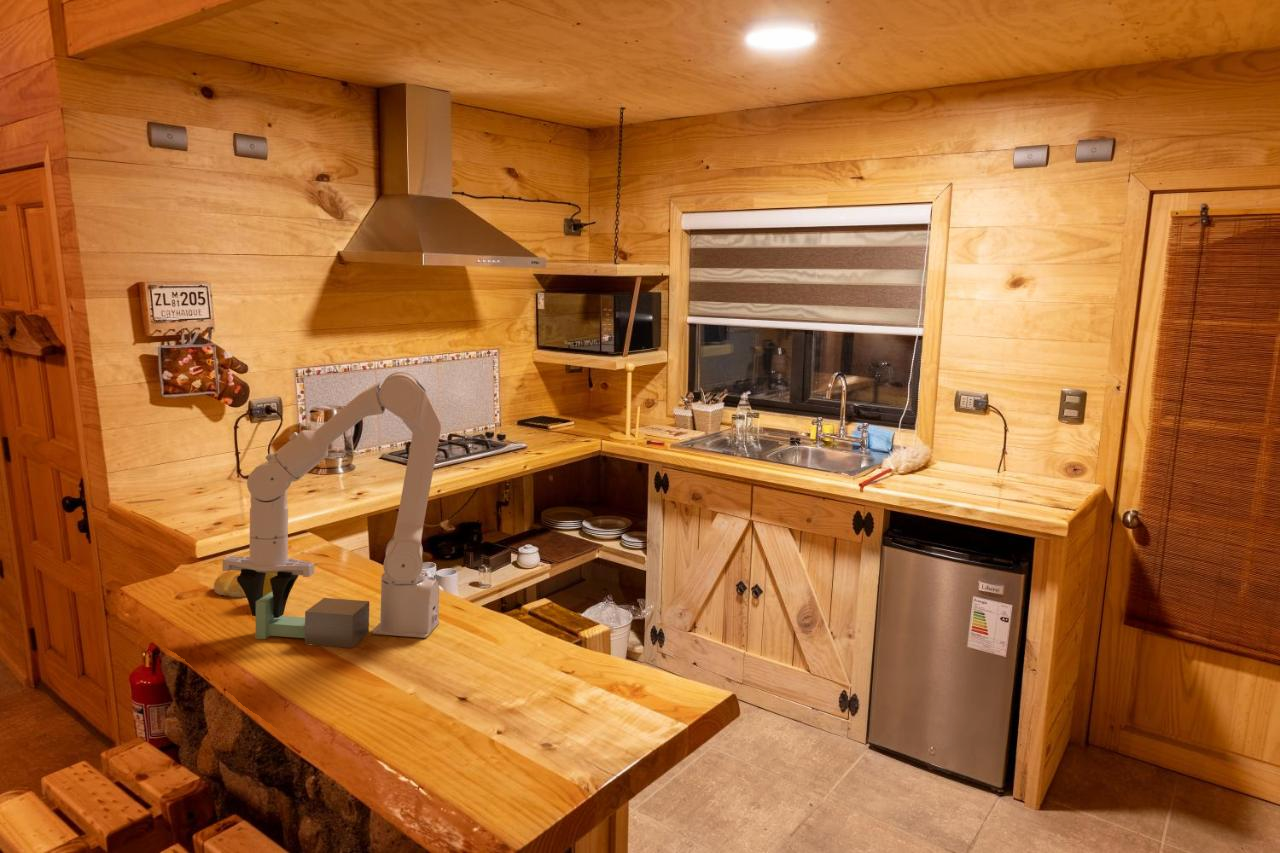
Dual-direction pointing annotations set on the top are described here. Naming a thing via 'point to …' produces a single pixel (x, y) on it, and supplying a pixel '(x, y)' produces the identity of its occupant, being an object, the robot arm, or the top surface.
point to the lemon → (268, 583)
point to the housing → (337, 622)
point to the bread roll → (229, 584)
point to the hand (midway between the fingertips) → (268, 615)
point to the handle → (276, 621)
